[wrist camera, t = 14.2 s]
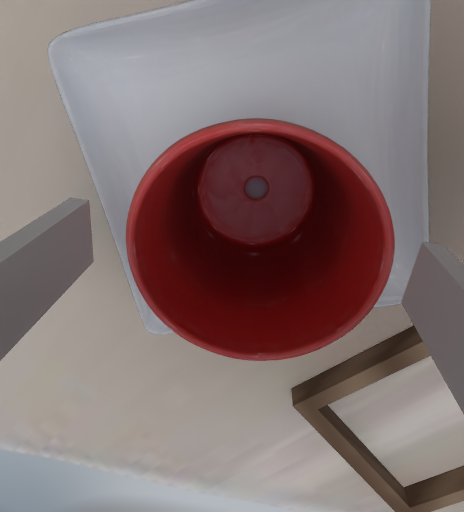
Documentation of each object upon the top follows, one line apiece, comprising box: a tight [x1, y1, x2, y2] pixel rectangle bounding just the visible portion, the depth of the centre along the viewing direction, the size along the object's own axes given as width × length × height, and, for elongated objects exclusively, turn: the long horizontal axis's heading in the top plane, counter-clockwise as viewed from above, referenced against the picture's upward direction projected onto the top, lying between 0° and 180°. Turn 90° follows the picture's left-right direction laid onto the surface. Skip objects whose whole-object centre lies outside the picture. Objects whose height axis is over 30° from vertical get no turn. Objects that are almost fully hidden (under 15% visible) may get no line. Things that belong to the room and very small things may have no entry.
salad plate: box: [48, 0, 431, 335], centre depth 26 cm, size 21×21×3 cm
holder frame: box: [292, 326, 464, 512], centre depth 33 cm, size 19×19×2 cm
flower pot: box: [126, 118, 395, 361], centre depth 20 cm, size 11×11×10 cm
